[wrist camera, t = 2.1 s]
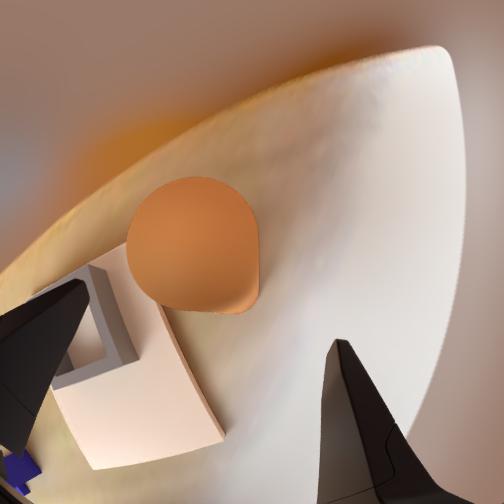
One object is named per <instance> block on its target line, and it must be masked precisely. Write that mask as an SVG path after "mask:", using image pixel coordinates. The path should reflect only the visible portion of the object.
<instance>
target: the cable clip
mask: <svg viewBox="0 0 504 504" xmlns="http://www.w3.org/2000/svg"><path fill="white" fill-rule="evenodd" d="M3 459H4V463H5V466H6V470H7V474H8V477H7V480H6V482H7V483H8V484H9V485H11V486H12V487H13V488H14V489H15V490H17V491H18V492H19V493H20V494H21V495H23V496H25V495H27V494H28V493H30V491H29V489H28V488H27V487H26V486H25V484H24V483H25V482H27V481H29V480H31V479H32V478H34V477H36V476H37V475H39V474H41V473H42V472H41V471H40V469H39V468H38V467H37V465H36V464H35V462H34V461H33V460H32V458H31V457H30V455H29V454H28V452H27V451H26V449H25V450H24V453H23V456H22V457H19V456H17V455H16V454H14V453H13V454H11V455H8V456H6V457H4V458H3Z"/></svg>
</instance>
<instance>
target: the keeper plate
mask: <svg viewBox="0 0 504 504" xmlns="http://www.w3.org/2000/svg"><path fill="white" fill-rule="evenodd" d="M74 278H78V279H81V280H84V281H85V282H86V285H87V289H88V292H89V295H90V302H89V304H88V307H87V309H86V311H85V313H84V316H83V318H82V320H81V322H80V325H79V327H78V330H77V332H76V334H75V336H74V338H73V340H72V342H71V344H70V346H69V348H68V350H67V351H66V353H65V355H64V357H63V359H62V361H61V363H60V365H59V367H58V370H57V372H56V374H55V376H54V378H53V380H52V382H51V384H50V388H51V390H52V393H53V395H54V397H55V400H56V402H57V404H58V406H59V408H60V411H61V413H62V415H63V417H64V419H65V421H66V423H67V425H68V427H69V429H70V431H71V433H72V435H73V437H74V438H75V440H76V442H77V444H78V446H79V447H80V449H81V451H82V453H83V454H84V456H85V458H86V459H87V461H88V462H89V464H90V466H91V467H92V469H93V470H97V469H106V468H113V467H120V466H126V465H132V464H138V463H143V462H148V461H153V460H158V459H162V458H166V457H171V456H175V455H179V454H182V453H186V452H190V451H193V450H197V449H200V448H204V447H207V446H210V445H213V444H216V443H219V442H223V441H224V439H225V436H226V435H225V433H224V432H223V430H222V428H221V426H220V425H219V423H218V421H217V419H216V418H215V416H214V414H213V412H212V410H211V409H210V407H209V405H208V403H207V401H206V399H205V397H204V396H203V394H202V392H201V390H200V388H199V386H198V384H197V382H196V380H195V378H194V376H193V374H192V372H191V370H190V368H189V366H188V364H187V362H186V360H185V358H184V355H183V353H182V351H181V349H180V347H179V345H178V343H177V340H176V338H175V336H174V334H173V331H172V329H171V327H170V325H169V322H168V320H167V318H166V315H165V313H164V310H163V308H162V306H161V304H159V303H157V302H156V301H154V300H153V299H151V298H150V297H149V296H147V295H146V294H145V293H144V292H143V291H142V290H141V288H140V287H139V286H138V285H137V283H136V281H135V280H134V278H133V276H132V274H131V271H130V269H129V265H128V262H127V255H126V242H125V243H123V244H121V245H119V246H117V247H116V248H114V249H112V250H110V251H108V252H106V253H105V254H103V255H101V256H99V257H97V258H96V259H94V260H92V261H90V262H89V263H87V264H85V265H83V266H82V267H80V268H78V269H76V270H75V271H73V272H71V273H70V274H68V275H66V276H65V277H63V278H61V279H60V280H58V281H56V282H55V283H53V284H51V285H50V286H48V287H46V288H45V289H43V290H42V291H40V292H38V293H37V294H35V295H34V296H32V297H31V298H29V299H27V300H26V301H24V303H26V302H28V301H30V300H32V299H34V298H36V297H38V296H40V295H42V294H44V293H46V292H48V291H50V290H52V289H54V288H56V287H58V286H60V285H62V284H64V283H66V282H68V281H70V280H72V279H74Z"/></svg>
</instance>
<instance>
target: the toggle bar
mask: <svg viewBox="0 0 504 504" xmlns="http://www.w3.org/2000/svg"><path fill="white" fill-rule="evenodd" d="M126 255H127V262H128V265H129V269H130V271H131V274H132V276H133V278H134V280H135V281H136V283H137V285H138V286H139V287H140V288H141V290H142V291H143V292H144V293H145V294H146V295H147V296H149V297H150V298H151V299H153V300H154V301H156V302H157V303H159V304H161V305H163V306H166V307H169V308H172V309H178V310H186V311H198V312H212V313H228V314H239V313H242V312H245V311H247V310H248V309H250V308H251V307H252V306H253V305H254V303H255V302H256V300H257V298H258V294H259V236H258V228H257V223H256V220H255V217H254V215H253V212H252V210H251V208H250V207H249V205H248V203H247V202H246V201H245V200H244V198H243V197H242V196H241V195H240V194H239V193H238V192H237V191H235V190H234V189H233V188H231V187H230V186H228V185H226V184H224V183H222V182H220V181H217V180H214V179H209V178H203V177H189V178H183V179H179V180H176V181H173V182H170V183H168V184H166V185H164V186H162V187H160V188H159V189H157V190H156V191H155V192H153V193H152V194H151V195H150V196H149V197H148V198H146V200H145V201H144V202H143V203H142V204H141V205H140V207H139V208H138V210H137V211H136V213H135V215H134V217H133V219H132V221H131V224H130V226H129V230H128V234H127V240H126Z"/></svg>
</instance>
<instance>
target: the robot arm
mask: <svg viewBox="0 0 504 504" xmlns="http://www.w3.org/2000/svg"><path fill="white" fill-rule="evenodd" d="M89 302H90V295H89V292H88V289H87V285H86V282H85V281H84V280H81V279H78V278H74V279H72V280H70V281H68V282H66V283H64V284H62V285H60V286H58V287H56V288H54V289H52V290H50V291H48V292H46V293H44V294H42V295H40V296H38V297H36V298H34V299H32V300H30V301H28V302H26V303H24V304H22V305H20V306H18V307H16V308H14V309H13V310H11V311H9V312H7V313H5V314H4V315H1V316H0V446H1V445H2V446H4V447H5V448H6V449H8V450H10V451H11V452H13V453H14V454H16V455H17V456H19V457H22V456H23V453H24V450H25V447H26V444H27V441H28V438H29V436H30V433H31V430H32V428H33V425H34V422H35V420H36V417H37V415H38V412H39V410H40V407H41V405H42V402H43V400H44V398H45V396H46V393H47V391H48V389H49V387H50V384H51V382H52V380H53V378H54V376H55V374H56V372H57V370H58V367H59V365H60V363H61V361H62V359H63V357H64V355H65V353H66V351H67V350H68V348H69V346H70V344H71V342H72V340H73V338H74V336H75V334H76V332H77V330H78V327H79V325H80V322H81V320H82V318H83V316H84V313H85V311H86V309H87V307H88V304H89ZM7 477H8V474H7V470H6V466H5V463H4V459H3V454H2V451H1V450H0V504H33V503H32V502H31V501H29V500H28V499H27V498H25V497H24V496H23V495H21V494H20V493H19V492H18V491H17V490H15V489H14V488H13V487H12V486H11V485H9V484H8V483H7V482H6V480H7ZM317 504H474V503H472V502H469V501H467V500H465V499H462V498H460V497H458V496H456V495H453V494H451V493H449V492H447V491H445V490H444V489H442V488H441V487H440V486H438V485H437V484H436V483H435V482H434V480H433V479H432V478H431V476H430V475H429V473H428V472H427V470H426V469H425V468H424V466H423V465H422V463H421V462H420V460H419V459H418V458H417V456H416V455H415V453H414V452H413V450H412V449H411V447H410V446H409V445H408V443H407V441H406V439H405V437H404V436H403V434H402V432H401V431H400V429H399V427H398V425H397V424H396V423H395V420H394V418H393V416H392V415H391V413H390V411H389V409H388V408H387V406H386V404H385V402H384V401H383V399H382V397H381V395H380V394H379V392H378V390H377V389H376V387H375V385H374V383H373V382H372V380H371V378H370V377H369V375H368V373H367V371H366V370H365V368H364V366H363V365H362V363H361V361H360V360H359V358H358V356H357V355H356V353H355V351H354V350H353V348H352V346H351V345H350V343H349V342H348V341H347V340H344V339H335V340H334V342H333V344H332V346H331V348H330V350H329V352H328V354H327V357H326V364H325V374H324V382H323V390H322V399H321V442H320V465H319V482H318V495H317ZM502 504H504V503H502Z"/></svg>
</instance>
